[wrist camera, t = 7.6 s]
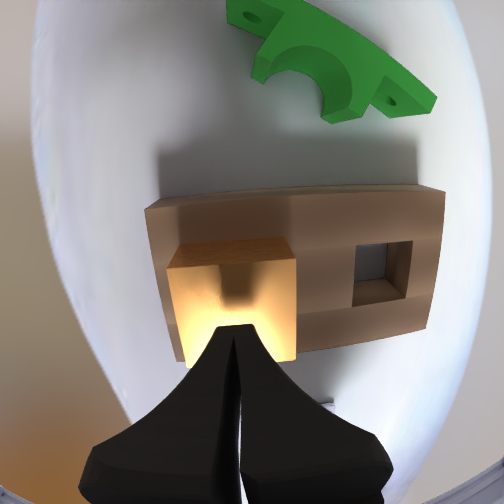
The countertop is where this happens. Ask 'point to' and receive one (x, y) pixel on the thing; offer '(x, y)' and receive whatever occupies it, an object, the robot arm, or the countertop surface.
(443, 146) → the countertop surface
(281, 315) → the orange block
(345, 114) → the pipe clamp
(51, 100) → the countertop surface
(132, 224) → the countertop surface
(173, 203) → the board
